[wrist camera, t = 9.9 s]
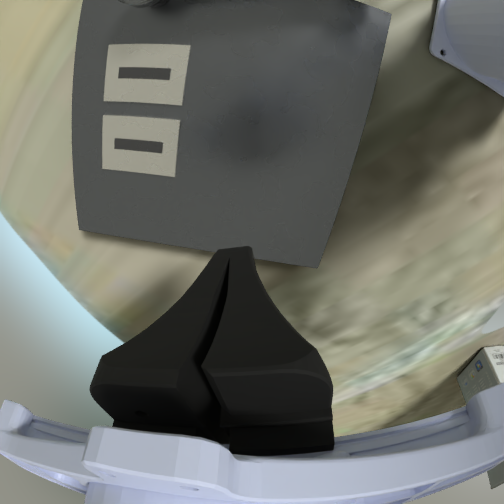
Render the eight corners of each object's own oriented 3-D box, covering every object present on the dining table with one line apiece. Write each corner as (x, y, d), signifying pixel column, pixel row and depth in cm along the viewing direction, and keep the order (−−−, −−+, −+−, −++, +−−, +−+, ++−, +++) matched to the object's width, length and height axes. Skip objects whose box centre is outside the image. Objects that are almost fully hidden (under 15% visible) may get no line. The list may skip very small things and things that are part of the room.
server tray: (377, 18, 14) (403, 10, 11) (313, 249, 24) (321, 283, 21) (104, -14, 13) (73, -24, 9) (92, 214, 23) (68, 242, 20)
